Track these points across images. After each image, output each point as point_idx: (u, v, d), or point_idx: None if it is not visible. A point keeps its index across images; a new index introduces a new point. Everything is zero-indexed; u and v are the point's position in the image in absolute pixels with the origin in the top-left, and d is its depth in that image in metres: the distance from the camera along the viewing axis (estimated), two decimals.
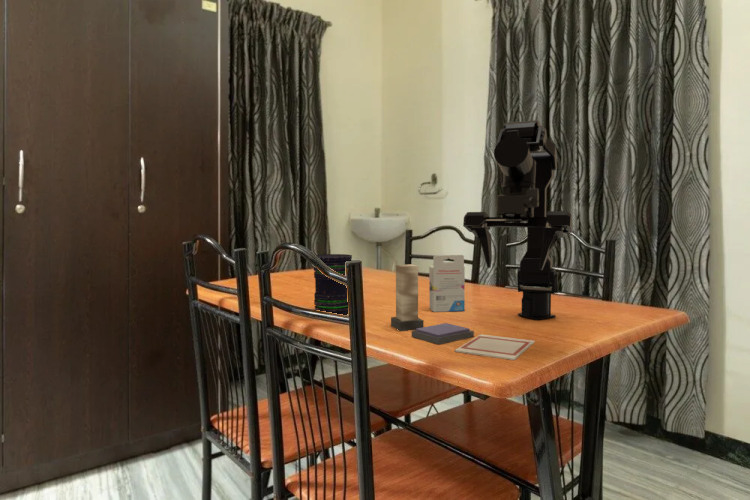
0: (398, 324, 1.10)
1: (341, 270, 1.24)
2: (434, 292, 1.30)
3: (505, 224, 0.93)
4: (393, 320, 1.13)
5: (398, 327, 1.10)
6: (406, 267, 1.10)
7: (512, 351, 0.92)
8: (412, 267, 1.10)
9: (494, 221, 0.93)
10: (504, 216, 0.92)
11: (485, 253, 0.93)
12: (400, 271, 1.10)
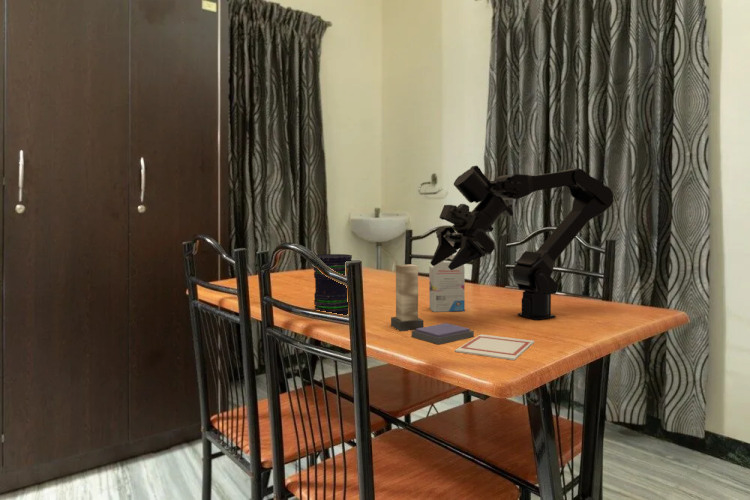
0: (398, 324, 1.10)
1: (341, 270, 1.24)
2: (434, 292, 1.30)
3: (457, 238, 1.17)
4: (393, 320, 1.13)
5: (398, 327, 1.10)
6: (406, 267, 1.10)
7: (512, 351, 0.92)
8: (412, 267, 1.10)
9: (453, 235, 1.19)
10: (458, 231, 1.17)
11: (434, 254, 1.19)
12: (400, 271, 1.10)
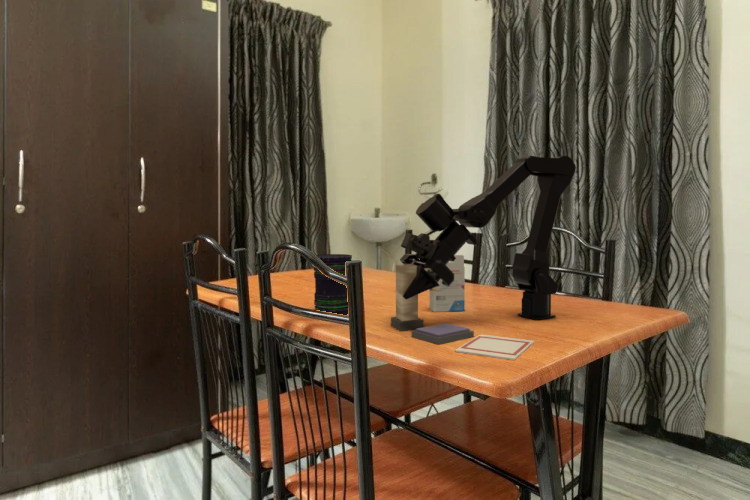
0: (398, 324, 1.10)
1: (341, 270, 1.24)
2: (434, 292, 1.30)
3: None
4: (393, 320, 1.13)
5: (398, 327, 1.10)
6: (406, 267, 1.10)
7: (512, 351, 0.92)
8: (412, 267, 1.10)
9: None
10: (420, 260, 1.15)
11: None
12: (400, 270, 1.10)
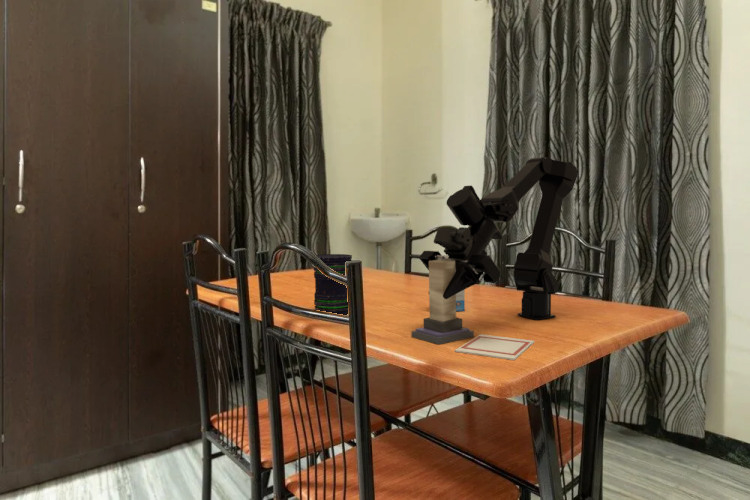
0: (440, 325, 1.01)
1: (341, 270, 1.24)
2: None
3: None
4: (429, 321, 1.03)
5: (439, 329, 1.01)
6: (445, 263, 1.01)
7: (512, 351, 0.92)
8: (450, 262, 1.02)
9: None
10: (450, 256, 1.07)
11: None
12: (439, 267, 1.01)
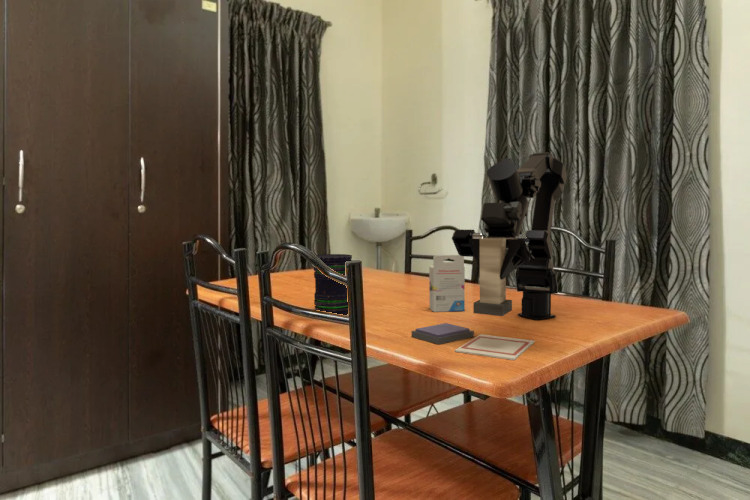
0: (498, 308, 0.93)
1: (341, 270, 1.24)
2: (434, 292, 1.30)
3: None
4: (481, 305, 0.94)
5: (497, 312, 0.93)
6: (501, 240, 0.93)
7: (512, 351, 0.92)
8: (503, 240, 0.94)
9: None
10: (490, 234, 1.00)
11: (478, 263, 0.97)
12: (496, 245, 0.93)
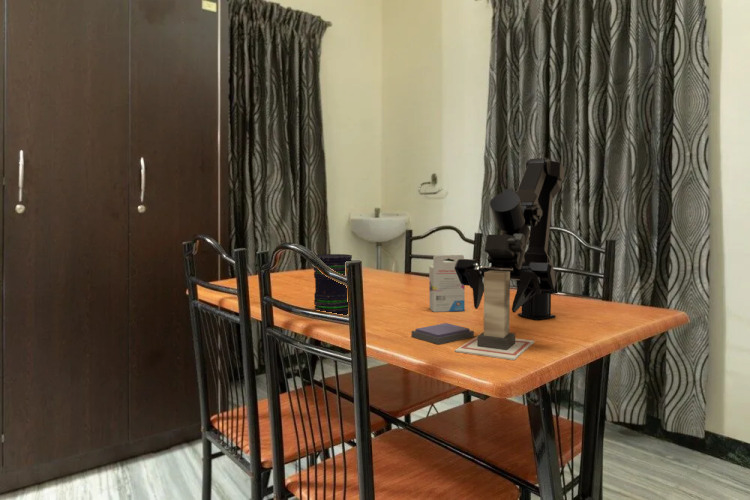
0: (502, 342, 0.93)
1: (341, 270, 1.24)
2: (434, 292, 1.30)
3: None
4: (486, 339, 0.94)
5: (501, 346, 0.93)
6: (505, 274, 0.94)
7: (512, 351, 0.92)
8: (508, 273, 0.95)
9: (483, 269, 1.00)
10: (493, 264, 1.00)
11: (474, 293, 0.97)
12: (500, 278, 0.93)
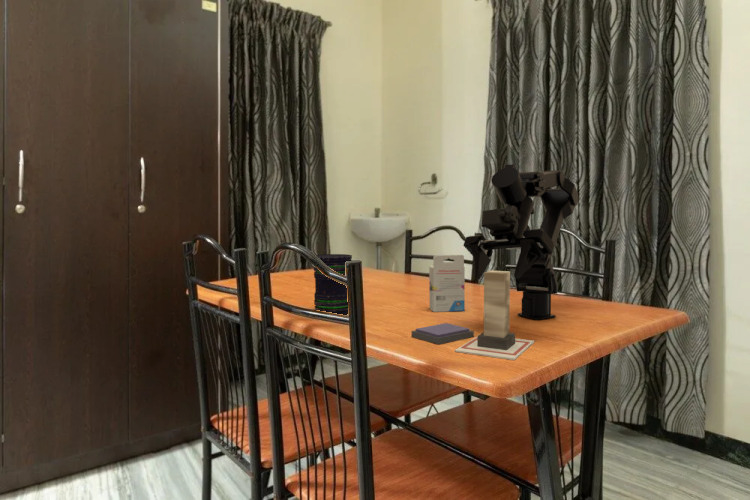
0: (502, 342, 0.93)
1: (341, 270, 1.24)
2: (434, 292, 1.30)
3: (497, 245, 1.08)
4: (486, 339, 0.94)
5: (501, 346, 0.93)
6: (505, 274, 0.94)
7: (512, 351, 0.92)
8: (508, 273, 0.95)
9: (488, 242, 1.09)
10: (496, 237, 1.08)
11: (476, 266, 1.08)
12: (500, 278, 0.93)
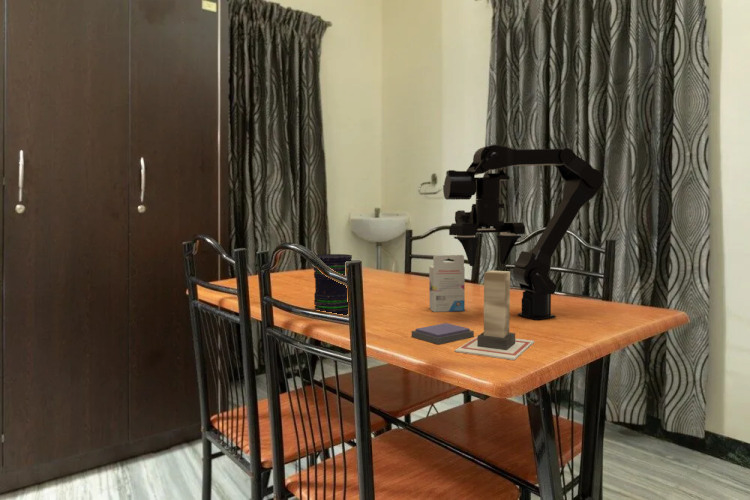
0: (502, 342, 0.93)
1: (341, 270, 1.24)
2: (434, 292, 1.30)
3: None
4: (486, 339, 0.94)
5: (501, 346, 0.93)
6: (505, 274, 0.94)
7: (512, 351, 0.92)
8: (508, 273, 0.95)
9: None
10: None
11: None
12: (500, 278, 0.93)
